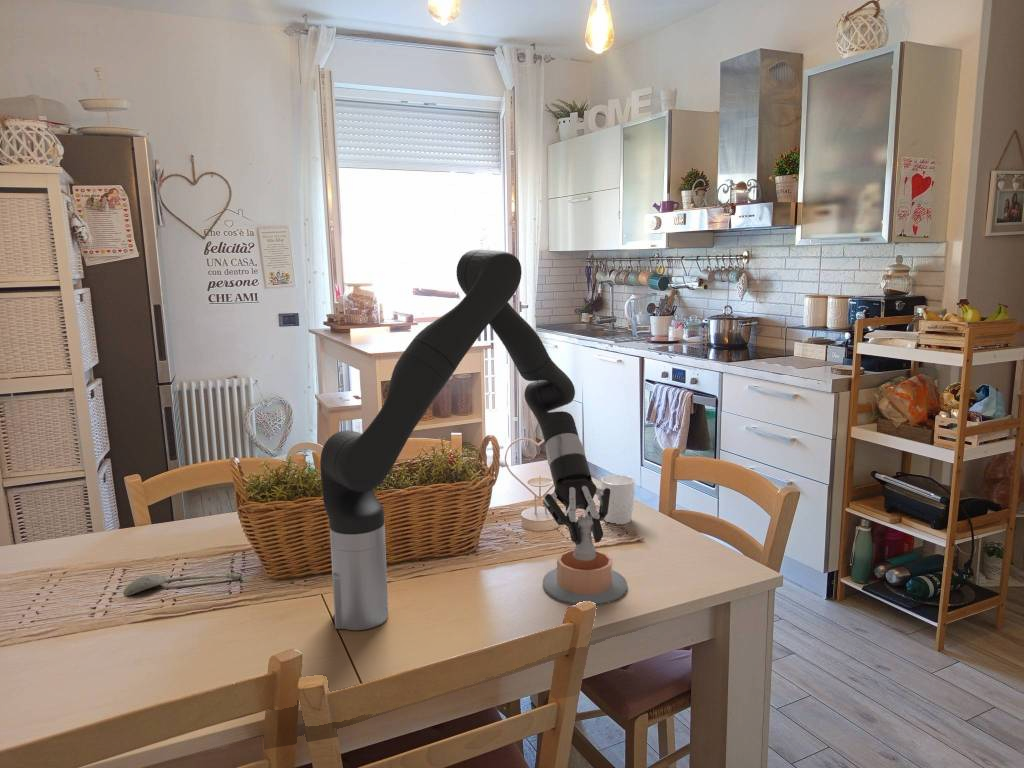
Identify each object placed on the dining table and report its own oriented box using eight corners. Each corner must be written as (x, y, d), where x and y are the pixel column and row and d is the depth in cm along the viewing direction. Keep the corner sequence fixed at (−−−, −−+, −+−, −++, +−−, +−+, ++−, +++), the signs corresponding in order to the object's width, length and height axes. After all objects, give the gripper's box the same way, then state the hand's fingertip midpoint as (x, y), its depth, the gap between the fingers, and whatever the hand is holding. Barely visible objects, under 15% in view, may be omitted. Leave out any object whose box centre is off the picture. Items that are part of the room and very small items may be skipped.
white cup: (633, 526, 169) (634, 485, 167) (599, 524, 171) (599, 483, 169) (634, 515, 177) (635, 475, 175) (601, 513, 178) (602, 473, 176)
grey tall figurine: (590, 564, 135) (590, 523, 134) (568, 559, 138) (568, 519, 136) (600, 555, 139) (600, 515, 137) (579, 550, 141) (579, 511, 140)
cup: (558, 610, 129) (558, 582, 128) (532, 573, 145) (532, 548, 144) (640, 599, 133) (641, 571, 132) (607, 564, 149) (607, 539, 148)
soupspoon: (129, 588, 142) (118, 605, 136) (126, 572, 142) (115, 588, 135) (246, 573, 147) (241, 589, 140) (244, 558, 146) (239, 573, 140)
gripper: (537, 454, 140) (557, 538, 131) (605, 449, 144) (629, 529, 134) (529, 473, 146) (548, 554, 137) (595, 467, 150) (618, 545, 140)
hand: (588, 541), depth 136 cm, fingers closed on grey tall figurine, 3 cm apart
